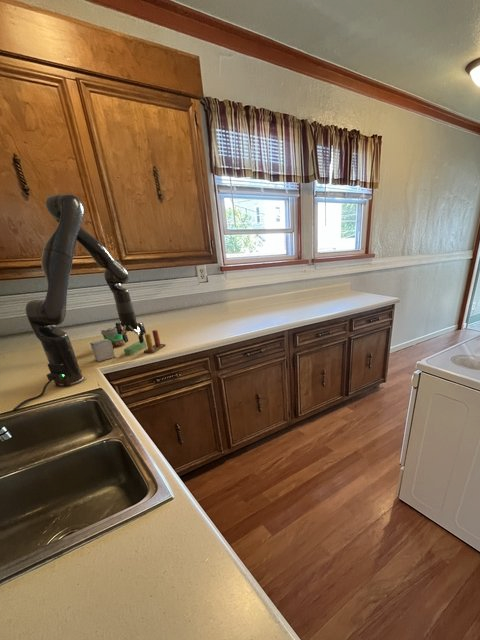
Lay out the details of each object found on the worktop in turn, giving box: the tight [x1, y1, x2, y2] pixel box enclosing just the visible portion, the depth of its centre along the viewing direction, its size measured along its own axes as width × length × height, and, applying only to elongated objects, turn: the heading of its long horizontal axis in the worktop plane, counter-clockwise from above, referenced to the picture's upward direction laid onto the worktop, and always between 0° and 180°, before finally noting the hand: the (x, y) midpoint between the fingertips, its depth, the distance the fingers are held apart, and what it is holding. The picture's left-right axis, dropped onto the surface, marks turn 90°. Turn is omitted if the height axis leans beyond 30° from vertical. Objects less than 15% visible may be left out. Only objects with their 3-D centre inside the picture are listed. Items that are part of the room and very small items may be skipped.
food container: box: [100, 326, 125, 349], centre depth 175 cm, size 12×6×10 cm, turn 168°
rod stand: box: [143, 329, 166, 354], centre depth 170 cm, size 5×12×9 cm, turn 171°
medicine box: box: [90, 338, 116, 362], centre depth 158 cm, size 8×4×9 cm, turn 141°
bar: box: [123, 340, 147, 356], centre depth 170 cm, size 3×14×3 cm, turn 171°
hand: (134, 342), depth 169 cm, fingers open, 8 cm apart
